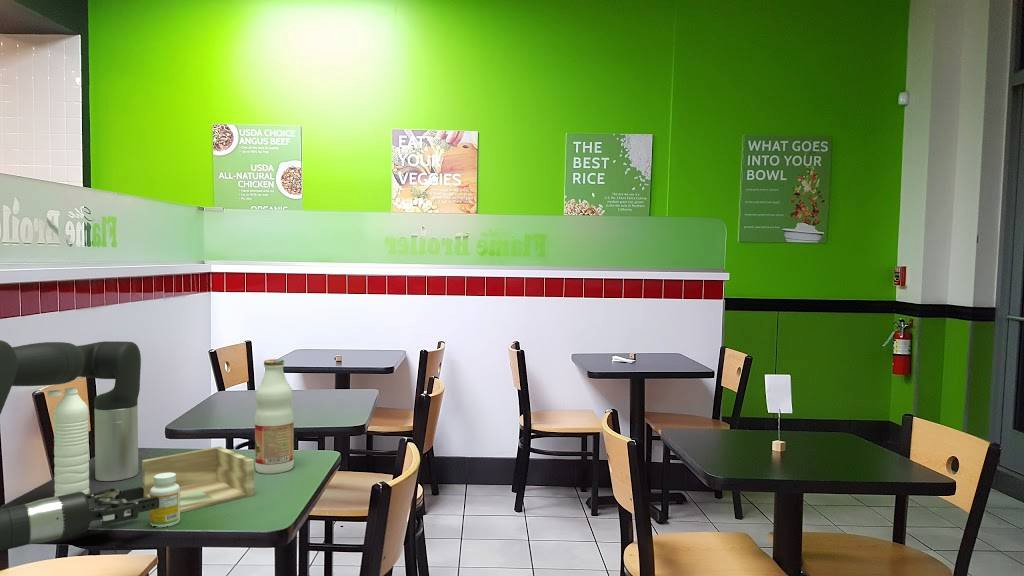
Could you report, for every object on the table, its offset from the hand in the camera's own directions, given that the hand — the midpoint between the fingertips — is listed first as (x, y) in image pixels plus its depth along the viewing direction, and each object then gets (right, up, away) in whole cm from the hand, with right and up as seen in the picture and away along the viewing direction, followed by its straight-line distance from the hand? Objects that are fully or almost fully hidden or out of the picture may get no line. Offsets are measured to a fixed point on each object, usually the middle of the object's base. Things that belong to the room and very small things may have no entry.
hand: (150, 496), depth 138 cm
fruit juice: (+11, -5, +40) cm, 42 cm away
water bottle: (-25, -6, +14) cm, 29 cm away
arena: (+1, -5, +19) cm, 20 cm away
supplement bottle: (+2, -6, +2) cm, 7 cm away
